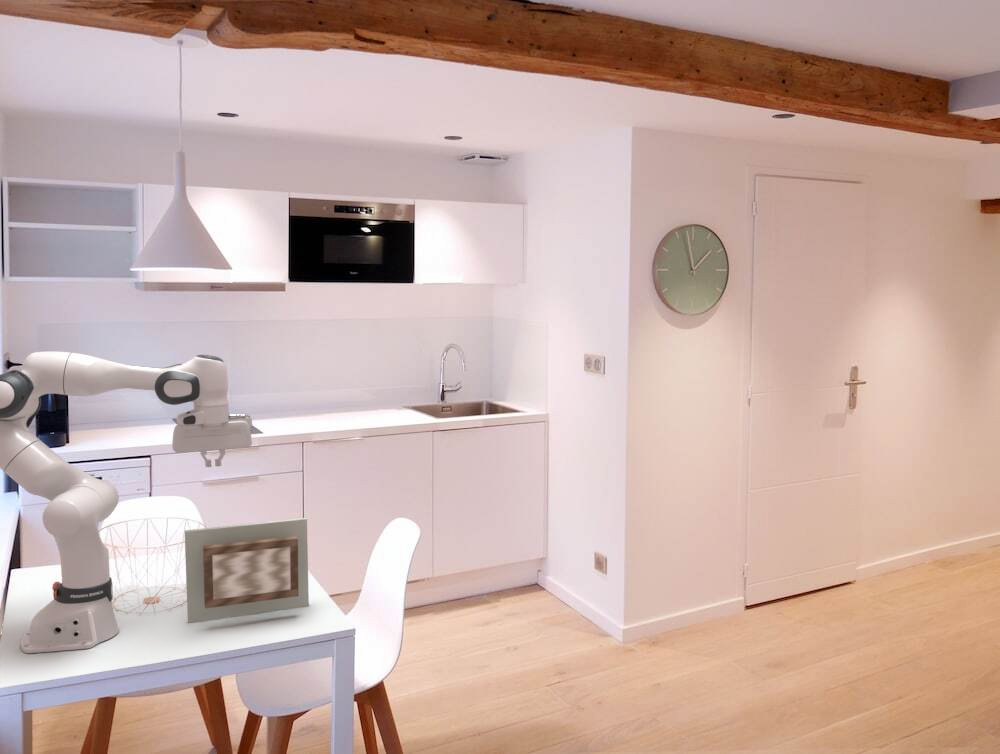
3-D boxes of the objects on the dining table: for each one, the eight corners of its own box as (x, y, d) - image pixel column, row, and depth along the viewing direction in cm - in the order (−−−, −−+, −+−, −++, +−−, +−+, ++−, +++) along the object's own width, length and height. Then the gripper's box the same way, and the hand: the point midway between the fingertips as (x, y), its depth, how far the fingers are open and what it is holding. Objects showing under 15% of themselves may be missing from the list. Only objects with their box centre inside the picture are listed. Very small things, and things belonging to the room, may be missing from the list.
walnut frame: (205, 608, 226) (203, 548, 224) (204, 605, 228) (203, 545, 226) (298, 596, 235) (297, 538, 234) (296, 593, 238) (296, 536, 236)
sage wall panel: (189, 629, 227) (186, 536, 225) (187, 621, 233) (184, 530, 230) (311, 611, 240) (310, 523, 237) (307, 604, 246) (305, 517, 243)
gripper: (250, 411, 239) (251, 461, 241) (170, 416, 231) (172, 467, 232) (253, 414, 233) (254, 465, 235) (172, 419, 225) (174, 471, 227)
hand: (213, 466), depth 234 cm, fingers closed
